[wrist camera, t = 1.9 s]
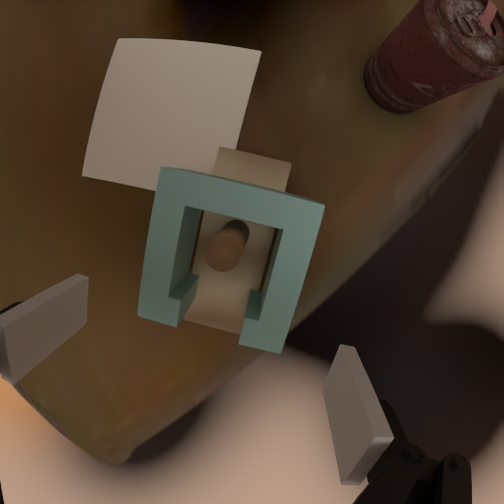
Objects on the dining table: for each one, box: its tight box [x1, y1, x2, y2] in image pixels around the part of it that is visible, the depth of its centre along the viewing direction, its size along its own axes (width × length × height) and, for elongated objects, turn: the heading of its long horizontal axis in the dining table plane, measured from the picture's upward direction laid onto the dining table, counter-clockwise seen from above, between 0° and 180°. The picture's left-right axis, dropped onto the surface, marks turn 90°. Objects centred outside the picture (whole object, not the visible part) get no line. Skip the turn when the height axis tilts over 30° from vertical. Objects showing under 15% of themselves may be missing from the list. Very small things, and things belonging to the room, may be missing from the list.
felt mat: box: [82, 38, 262, 191], centre depth 25 cm, size 14×14×1 cm
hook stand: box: [183, 146, 292, 334], centre depth 22 cm, size 13×5×12 cm, turn 166°
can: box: [364, 0, 504, 113], centre depth 16 cm, size 6×6×14 cm
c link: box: [137, 166, 325, 354], centre depth 20 cm, size 9×9×5 cm
